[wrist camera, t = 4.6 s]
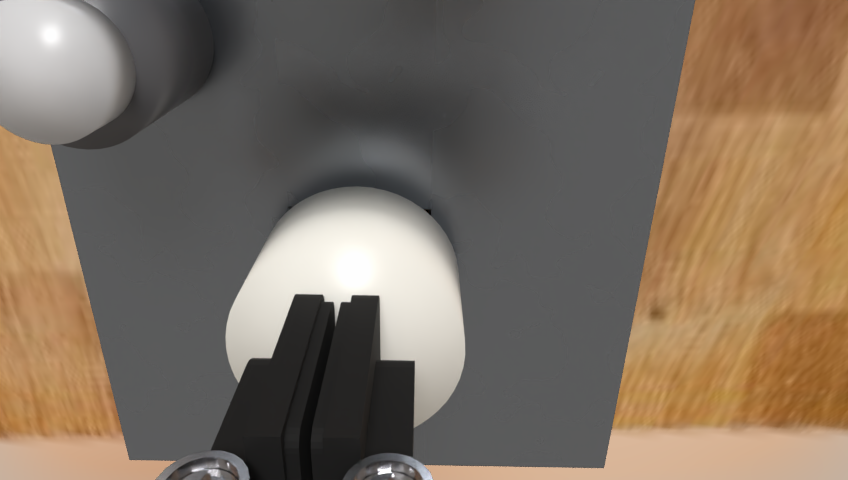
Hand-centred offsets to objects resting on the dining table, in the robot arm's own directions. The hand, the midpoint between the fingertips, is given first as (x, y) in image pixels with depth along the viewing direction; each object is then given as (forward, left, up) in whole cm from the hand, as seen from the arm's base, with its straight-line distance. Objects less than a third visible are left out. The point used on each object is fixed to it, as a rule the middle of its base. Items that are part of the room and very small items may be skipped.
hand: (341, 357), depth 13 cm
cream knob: (0, 0, -8) cm, 8 cm away
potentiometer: (+4, -6, -3) cm, 8 cm away
